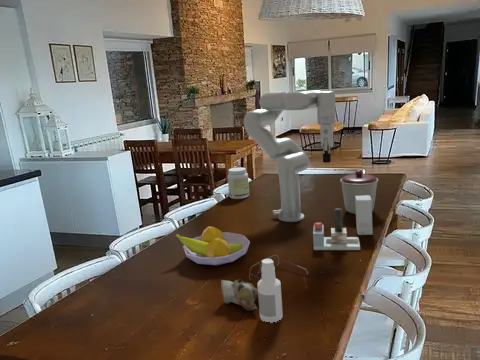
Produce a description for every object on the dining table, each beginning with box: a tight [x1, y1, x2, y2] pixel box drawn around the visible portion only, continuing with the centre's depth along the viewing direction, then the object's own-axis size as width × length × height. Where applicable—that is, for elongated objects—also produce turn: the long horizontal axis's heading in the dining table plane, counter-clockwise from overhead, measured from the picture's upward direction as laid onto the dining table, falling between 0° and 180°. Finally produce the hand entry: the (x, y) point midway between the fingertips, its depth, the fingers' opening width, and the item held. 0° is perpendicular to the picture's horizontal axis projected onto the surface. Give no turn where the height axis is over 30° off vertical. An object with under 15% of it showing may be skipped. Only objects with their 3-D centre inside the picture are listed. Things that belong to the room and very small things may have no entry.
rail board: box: [312, 224, 361, 251], centre depth 175 cm, size 18×10×7 cm, turn 79°
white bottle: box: [256, 258, 283, 324], centre depth 125 cm, size 7×7×18 cm
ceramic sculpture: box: [220, 278, 259, 312], centre depth 135 cm, size 11×9×15 cm
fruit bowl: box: [175, 225, 251, 266], centre depth 172 cm, size 28×27×11 cm
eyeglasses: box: [248, 254, 309, 280], centre depth 152 cm, size 16×15×5 cm
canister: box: [339, 169, 379, 215], centre depth 212 cm, size 18×18×21 cm
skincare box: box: [355, 195, 374, 236], centre depth 186 cm, size 8×7×16 cm
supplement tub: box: [227, 167, 250, 200], centre depth 256 cm, size 12×12×17 cm
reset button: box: [313, 221, 323, 230], centre depth 175 cm, size 3×3×2 cm
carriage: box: [330, 207, 348, 243], centre depth 173 cm, size 6×6×14 cm
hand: (326, 162), depth 189 cm, fingers closed
